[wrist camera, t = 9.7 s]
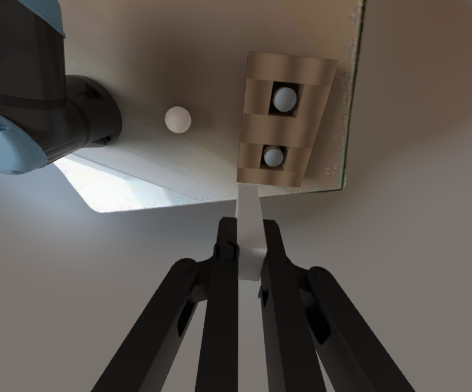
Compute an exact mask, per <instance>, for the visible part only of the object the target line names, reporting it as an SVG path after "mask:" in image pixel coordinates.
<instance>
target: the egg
mask: <svg viewBox="0 0 472 392" xmlns="http://www.w3.org/2000/svg"><path fill="white" fill-rule="evenodd" d="M165 123H166V125H167V127H168V128H169V129H170V130H171V131H172V132H175V133H183V132H185V131H187V130H188V128H189V127H190V125H191V116H190V114H189V112H188V111H187V110H186V109H184V108H182V107H178V106H175V107H172V108H170V109H169V110H168V111H167V113H166V115H165Z"/></svg>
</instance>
